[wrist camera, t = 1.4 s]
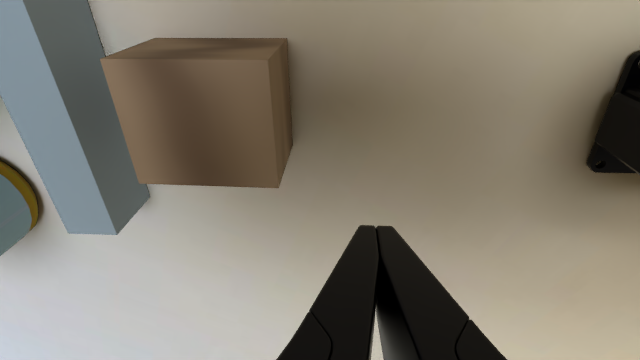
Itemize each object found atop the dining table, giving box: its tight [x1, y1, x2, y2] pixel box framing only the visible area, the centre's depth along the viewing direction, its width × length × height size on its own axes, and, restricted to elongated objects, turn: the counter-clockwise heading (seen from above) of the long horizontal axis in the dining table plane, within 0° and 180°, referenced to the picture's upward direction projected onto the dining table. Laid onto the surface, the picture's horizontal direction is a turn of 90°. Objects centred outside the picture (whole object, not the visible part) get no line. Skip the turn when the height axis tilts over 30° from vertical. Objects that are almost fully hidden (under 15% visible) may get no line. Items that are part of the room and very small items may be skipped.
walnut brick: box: [100, 38, 293, 188], centre depth 18 cm, size 7×6×5 cm
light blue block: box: [0, 0, 150, 235], centre depth 19 cm, size 3×14×4 cm, turn 1°
